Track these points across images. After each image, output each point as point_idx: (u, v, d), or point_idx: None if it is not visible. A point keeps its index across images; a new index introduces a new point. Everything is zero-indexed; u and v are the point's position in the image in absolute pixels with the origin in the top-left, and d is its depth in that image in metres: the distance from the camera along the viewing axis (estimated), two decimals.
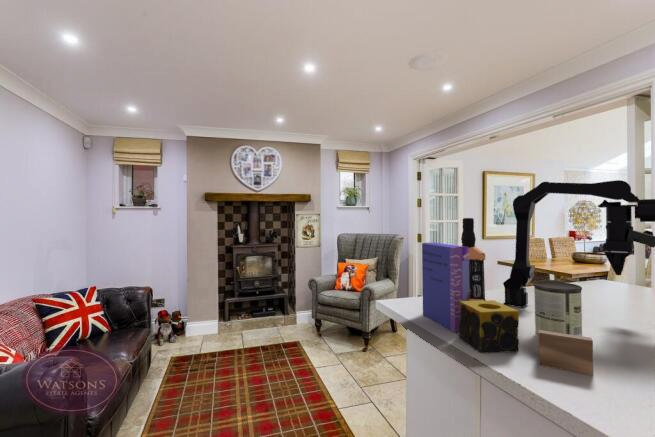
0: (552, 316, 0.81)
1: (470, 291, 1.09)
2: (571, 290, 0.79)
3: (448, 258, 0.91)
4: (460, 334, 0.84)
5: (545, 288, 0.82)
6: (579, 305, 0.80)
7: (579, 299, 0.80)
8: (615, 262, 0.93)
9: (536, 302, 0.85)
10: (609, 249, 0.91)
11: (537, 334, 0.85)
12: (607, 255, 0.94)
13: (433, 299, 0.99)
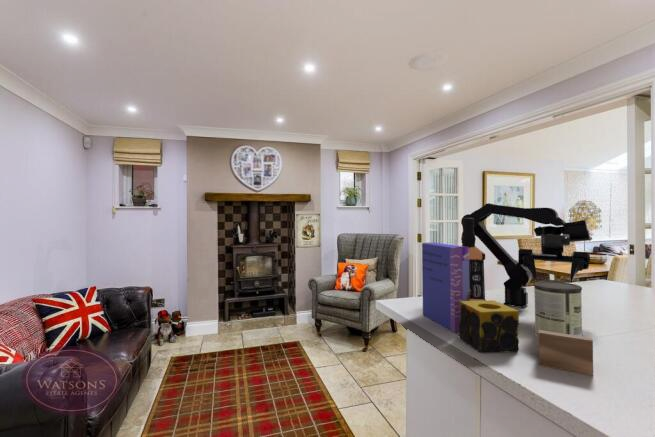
0: (552, 316, 0.81)
1: (470, 291, 1.09)
2: (571, 290, 0.79)
3: (448, 258, 0.91)
4: (460, 334, 0.84)
5: (545, 288, 0.82)
6: (579, 305, 0.80)
7: (579, 299, 0.80)
8: (531, 269, 1.04)
9: (536, 302, 0.85)
10: (518, 260, 1.09)
11: (537, 334, 0.85)
12: (528, 267, 1.07)
13: (433, 299, 0.99)
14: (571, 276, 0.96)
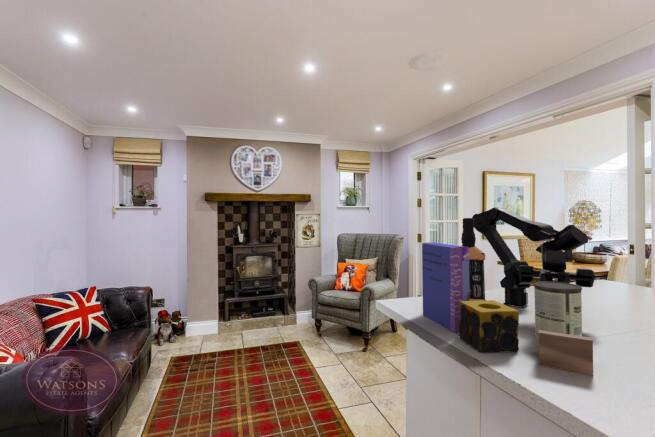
0: (552, 316, 0.81)
1: (470, 291, 1.09)
2: (571, 290, 0.79)
3: (448, 258, 0.91)
4: (460, 334, 0.84)
5: (545, 288, 0.82)
6: (579, 305, 0.80)
7: (579, 299, 0.80)
8: None
9: (536, 302, 0.85)
10: (518, 278, 1.03)
11: (537, 334, 0.85)
12: None
13: (433, 299, 0.99)
14: None
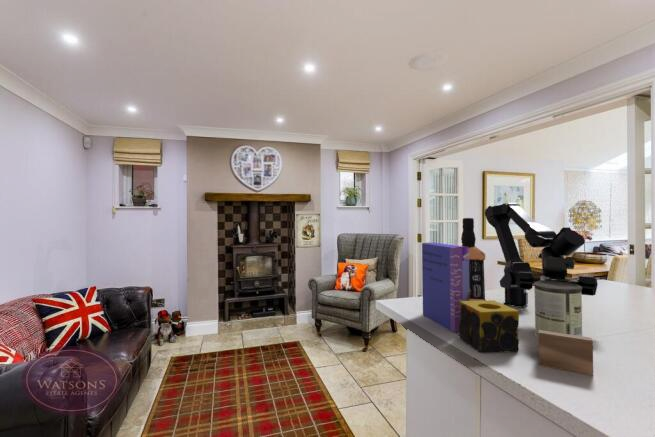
0: (552, 316, 0.80)
1: (470, 291, 1.09)
2: (571, 290, 0.78)
3: (448, 258, 0.91)
4: (460, 334, 0.84)
5: (545, 288, 0.81)
6: (579, 305, 0.79)
7: (579, 299, 0.79)
8: None
9: (536, 302, 0.85)
10: (517, 285, 0.99)
11: (537, 334, 0.84)
12: None
13: (433, 299, 0.99)
14: None
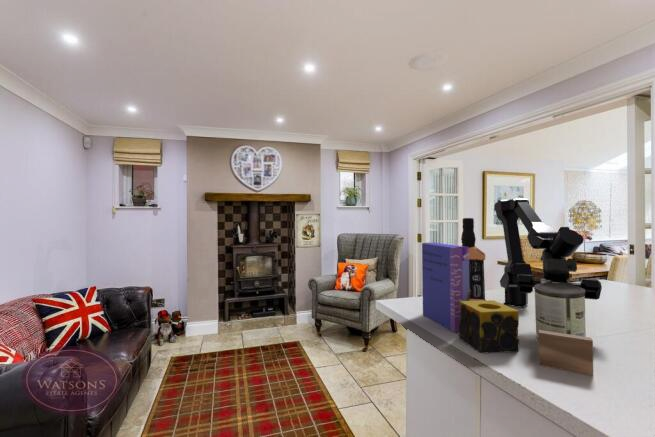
0: (552, 321, 0.76)
1: (470, 291, 1.09)
2: (572, 295, 0.74)
3: (448, 258, 0.91)
4: (460, 334, 0.84)
5: (544, 292, 0.77)
6: (582, 310, 0.74)
7: (582, 304, 0.74)
8: None
9: (536, 306, 0.80)
10: (517, 288, 0.94)
11: (537, 339, 0.81)
12: None
13: (433, 299, 0.99)
14: None
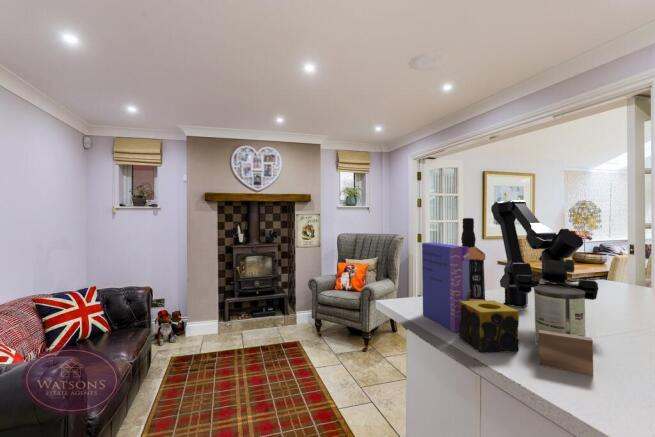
0: (551, 322, 0.76)
1: (470, 291, 1.09)
2: (572, 295, 0.73)
3: (448, 258, 0.91)
4: (460, 334, 0.84)
5: (544, 293, 0.77)
6: (581, 312, 0.74)
7: (581, 305, 0.74)
8: None
9: (535, 307, 0.80)
10: (516, 287, 0.96)
11: (536, 341, 0.80)
12: None
13: (433, 299, 0.99)
14: None
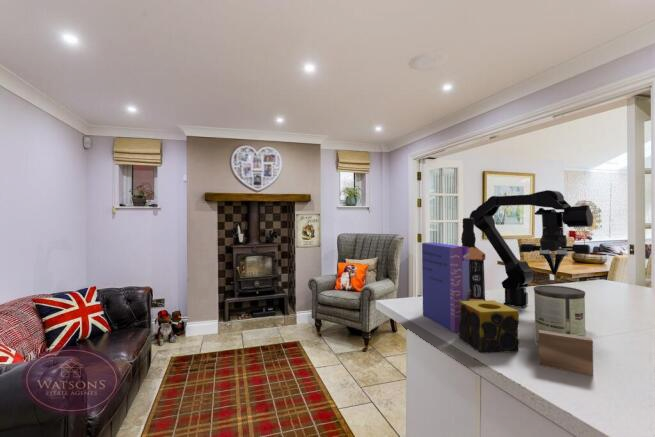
0: (551, 322, 0.76)
1: (470, 291, 1.09)
2: (572, 295, 0.73)
3: (448, 258, 0.91)
4: (460, 334, 0.84)
5: (544, 293, 0.77)
6: (581, 312, 0.74)
7: (581, 305, 0.74)
8: None
9: (535, 307, 0.80)
10: None
11: (536, 341, 0.80)
12: None
13: (433, 299, 0.99)
14: (555, 270, 1.05)
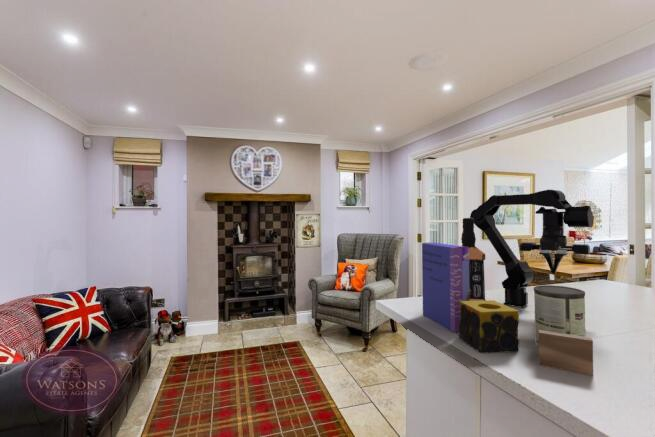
0: (551, 322, 0.76)
1: (470, 291, 1.09)
2: (572, 295, 0.73)
3: (448, 258, 0.91)
4: (460, 334, 0.84)
5: (544, 293, 0.77)
6: (581, 312, 0.74)
7: (581, 305, 0.74)
8: None
9: (535, 307, 0.80)
10: None
11: (536, 341, 0.80)
12: None
13: (433, 299, 0.99)
14: (554, 269, 1.06)
